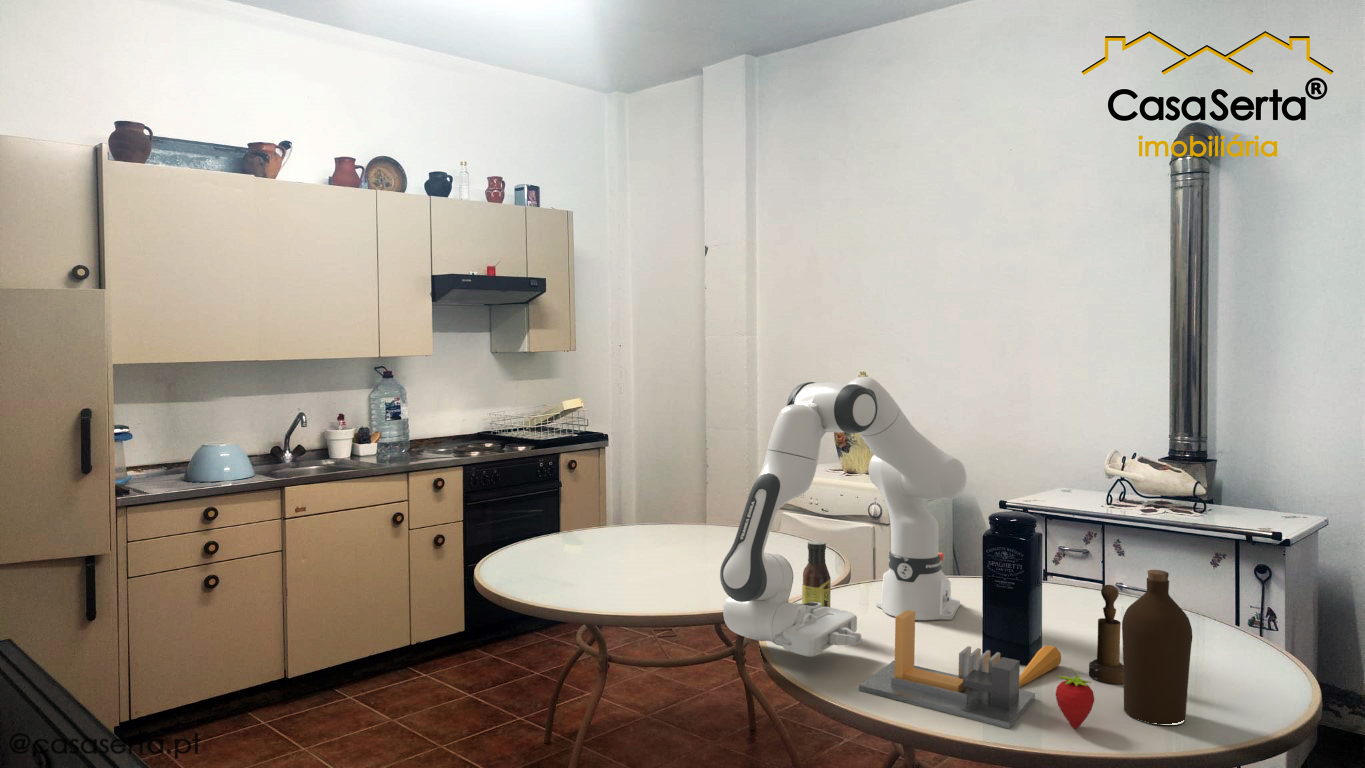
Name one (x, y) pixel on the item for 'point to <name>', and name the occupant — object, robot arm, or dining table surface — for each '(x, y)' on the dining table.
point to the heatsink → (982, 699)
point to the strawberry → (1074, 699)
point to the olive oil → (1156, 655)
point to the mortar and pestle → (1108, 643)
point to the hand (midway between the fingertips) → (858, 640)
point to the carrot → (1040, 664)
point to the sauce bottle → (816, 576)
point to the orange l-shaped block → (906, 657)
